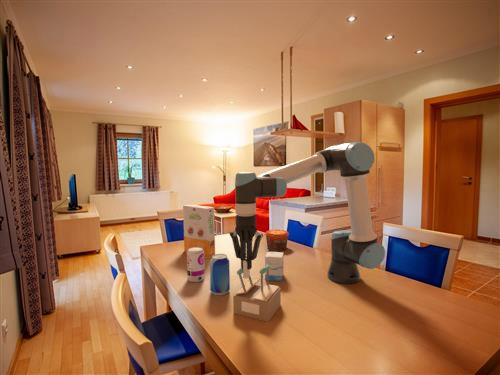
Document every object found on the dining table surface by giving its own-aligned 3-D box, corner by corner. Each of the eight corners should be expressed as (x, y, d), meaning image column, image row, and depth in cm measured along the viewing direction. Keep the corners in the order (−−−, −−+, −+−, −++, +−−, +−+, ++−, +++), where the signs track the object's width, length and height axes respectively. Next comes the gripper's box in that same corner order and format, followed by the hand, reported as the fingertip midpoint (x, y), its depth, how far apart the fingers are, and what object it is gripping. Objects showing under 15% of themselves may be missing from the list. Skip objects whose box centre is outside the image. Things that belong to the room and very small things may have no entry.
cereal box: (215, 255, 174) (214, 207, 172) (207, 258, 169) (206, 208, 167) (192, 248, 188) (190, 204, 186) (184, 251, 184) (183, 205, 181)
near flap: (279, 286, 111) (279, 265, 111) (266, 301, 99) (266, 278, 98) (266, 284, 114) (266, 263, 113) (252, 298, 101) (252, 275, 101)
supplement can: (207, 277, 139) (207, 247, 138) (197, 284, 132) (197, 252, 131) (194, 275, 143) (193, 246, 142) (183, 281, 135) (183, 250, 134)
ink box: (282, 281, 134) (282, 257, 133) (264, 280, 136) (264, 256, 135) (283, 274, 142) (283, 252, 142) (267, 273, 144) (267, 251, 143)
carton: (280, 305, 111) (280, 288, 110) (268, 322, 99) (268, 302, 99) (248, 298, 117) (248, 282, 116) (233, 313, 105) (233, 295, 105)
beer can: (214, 298, 118) (213, 260, 117) (207, 290, 125) (207, 255, 124) (232, 293, 122) (232, 257, 120) (225, 286, 129) (224, 252, 128)
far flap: (261, 279, 114) (255, 259, 114) (246, 293, 101) (239, 270, 102) (249, 281, 116) (243, 261, 117) (233, 295, 104) (226, 273, 104)
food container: (290, 251, 181) (290, 234, 180) (265, 251, 181) (265, 234, 181) (287, 244, 197) (287, 229, 196) (264, 244, 197) (264, 229, 196)
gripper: (266, 213, 104) (266, 276, 106) (235, 211, 110) (235, 271, 111) (258, 217, 97) (258, 283, 99) (225, 214, 103) (226, 278, 104)
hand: (246, 277), depth 105 cm, fingers closed
